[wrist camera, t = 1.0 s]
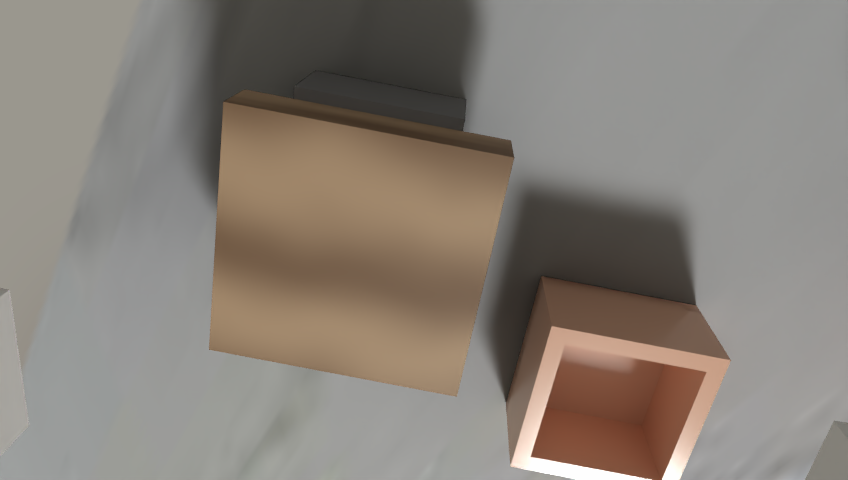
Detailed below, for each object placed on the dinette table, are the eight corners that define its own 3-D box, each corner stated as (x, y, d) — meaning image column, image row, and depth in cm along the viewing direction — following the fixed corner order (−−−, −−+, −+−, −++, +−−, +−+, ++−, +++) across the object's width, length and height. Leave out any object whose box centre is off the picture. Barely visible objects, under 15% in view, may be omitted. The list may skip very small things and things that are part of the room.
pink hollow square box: (541, 275, 34) (551, 326, 29) (696, 305, 34) (730, 360, 29) (505, 403, 37) (510, 466, 33) (647, 430, 37) (672, 497, 33)
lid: (244, 89, 27) (223, 101, 25) (510, 140, 27) (514, 157, 25) (228, 320, 32) (209, 349, 29) (457, 364, 32) (456, 396, 29)
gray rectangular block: (315, 70, 31) (294, 86, 27) (466, 99, 31) (464, 119, 27) (290, 298, 35) (269, 337, 32) (420, 322, 36) (414, 365, 32)
